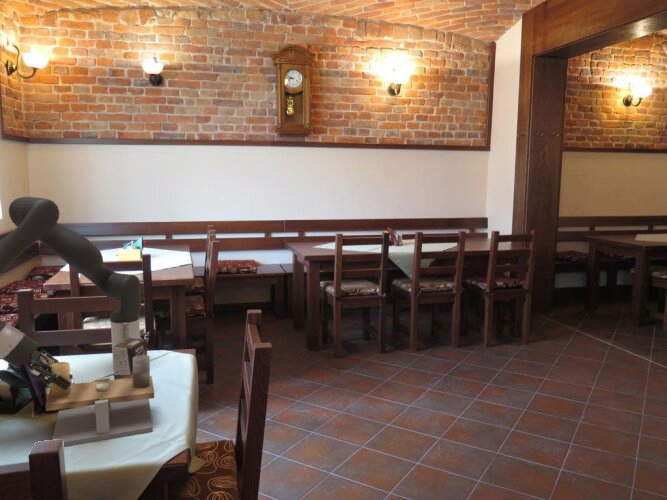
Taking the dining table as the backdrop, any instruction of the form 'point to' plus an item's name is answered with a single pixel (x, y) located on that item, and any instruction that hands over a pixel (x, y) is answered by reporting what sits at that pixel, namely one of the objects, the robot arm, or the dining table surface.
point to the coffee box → (127, 356)
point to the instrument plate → (102, 387)
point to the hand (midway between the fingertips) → (69, 382)
